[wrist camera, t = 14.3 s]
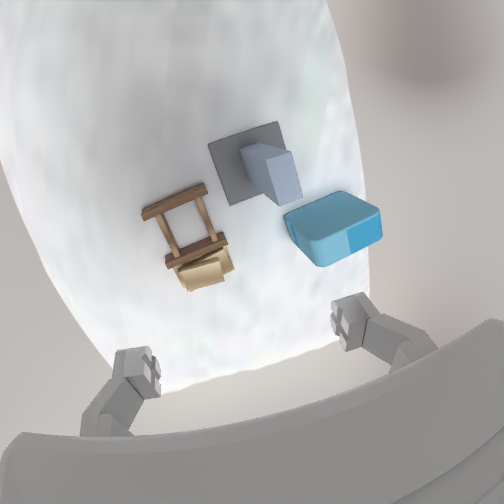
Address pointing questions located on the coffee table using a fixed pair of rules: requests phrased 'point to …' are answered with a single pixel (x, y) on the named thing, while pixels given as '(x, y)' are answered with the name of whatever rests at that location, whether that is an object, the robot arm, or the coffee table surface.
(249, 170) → the pale blue pillar
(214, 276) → the offcut stack
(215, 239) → the rack
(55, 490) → the robot arm
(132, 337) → the coffee table surface
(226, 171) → the felt mat
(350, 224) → the data package
